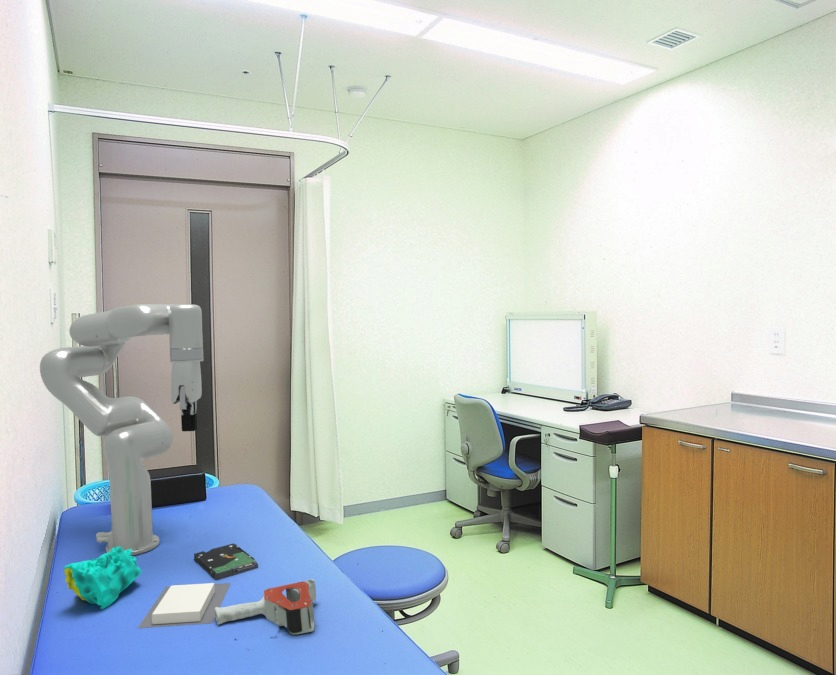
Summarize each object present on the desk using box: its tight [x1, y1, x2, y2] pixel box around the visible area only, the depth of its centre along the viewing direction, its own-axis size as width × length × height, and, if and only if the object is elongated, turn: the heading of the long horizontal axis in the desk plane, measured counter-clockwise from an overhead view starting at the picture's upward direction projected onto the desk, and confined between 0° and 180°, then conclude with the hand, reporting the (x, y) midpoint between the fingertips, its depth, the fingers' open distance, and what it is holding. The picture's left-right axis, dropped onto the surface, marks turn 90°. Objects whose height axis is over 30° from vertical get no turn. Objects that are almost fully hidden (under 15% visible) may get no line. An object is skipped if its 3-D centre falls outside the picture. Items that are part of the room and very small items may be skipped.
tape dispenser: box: [214, 578, 317, 636], centre depth 119 cm, size 18×5×20 cm
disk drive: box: [193, 542, 259, 581], centre depth 143 cm, size 10×3×15 cm
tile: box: [152, 582, 216, 624], centre depth 122 cm, size 9×2×12 cm
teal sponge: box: [63, 546, 142, 610], centre depth 128 cm, size 15×12×13 cm
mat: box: [137, 582, 231, 629], centre depth 124 cm, size 14×17×1 cm
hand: (189, 430), depth 146 cm, fingers closed
